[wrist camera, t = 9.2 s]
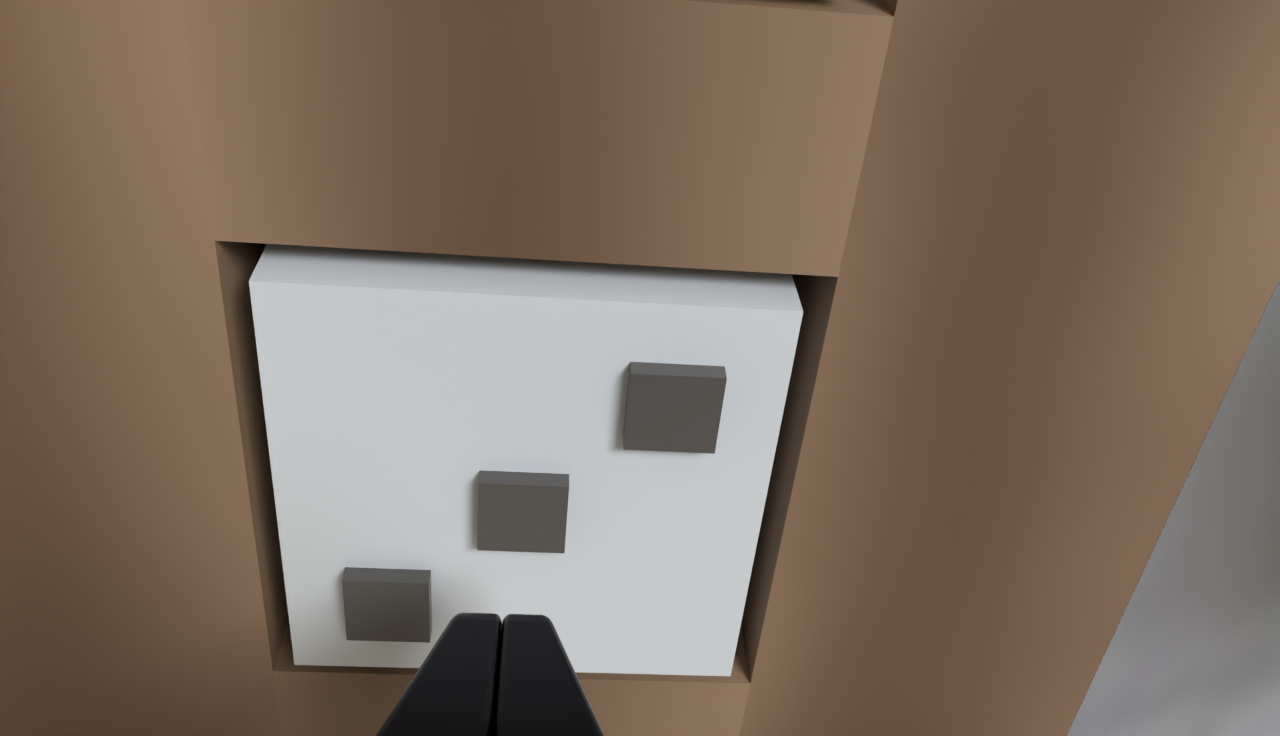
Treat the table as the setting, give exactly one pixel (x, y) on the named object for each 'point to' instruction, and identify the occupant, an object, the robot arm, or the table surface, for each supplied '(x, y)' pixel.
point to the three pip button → (519, 449)
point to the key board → (650, 236)
